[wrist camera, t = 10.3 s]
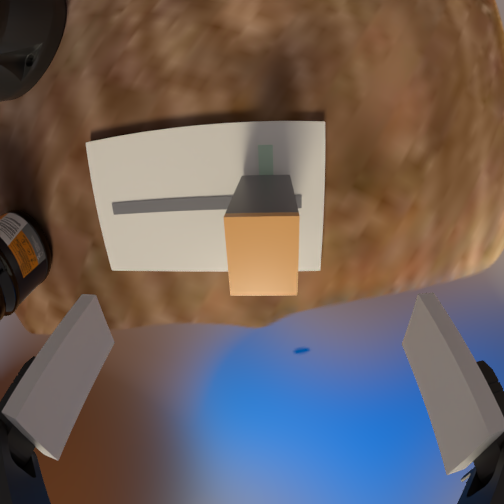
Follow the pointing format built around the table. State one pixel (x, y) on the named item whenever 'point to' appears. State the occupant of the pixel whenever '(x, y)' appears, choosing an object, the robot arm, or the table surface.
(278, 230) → the lever
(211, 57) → the table surface
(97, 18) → the table surface
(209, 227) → the fader console
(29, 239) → the supplement container
